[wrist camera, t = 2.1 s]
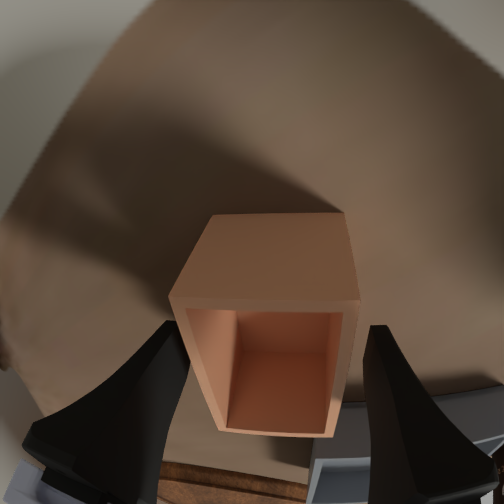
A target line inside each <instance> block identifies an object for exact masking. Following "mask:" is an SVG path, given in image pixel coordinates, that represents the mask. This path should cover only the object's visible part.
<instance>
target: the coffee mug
mask: <svg viewBox="0 0 504 504" xmlns="http://www.w3.org/2000/svg"><path fill="white" fill-rule="evenodd" d="M492 459H493V460H494V461H495V464H496V467H497V471H498V477H499V485H498V486H497V487H496V488H495V489H494V490H493V504H504V444H503V445H502V446H500V447H499V448H498V449H497V450H496V451H495V452H494V453H493V454H492Z"/></svg>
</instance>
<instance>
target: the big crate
mask: <svg viewBox="0 0 504 504" xmlns="http://www.w3.org/2000/svg"><path fill="white" fill-rule="evenodd" d="M431 398H432V399H433V400H434V402H435V403H436V404H437V405H438V407H439V408H440V409H441V410H442V411H443V413H444V414H445V415H446V416H447V417H448V419H449V420H450V421H451V422H452V423H453V424H454V425H455V426H456V427H457V428H458V429H459V430H460V431H461V432H462V433H463V434H464V435H465V436H466V437H467V438H468V439H469V440H470V441H471V442H472V443H474V444H475V445H476V446H477V447H478V448H479V449H480V450H482V451H483V452H484V453H486V454H487V455H488V456H490V455H491V454H493V453H494V452H495V451H496V450H497V449H498V448H499V447H500V446H502V445H503V444H504V385H500V386H495V387H490V388H485V389H480V390H474V391H468V392H462V393H455V394H448V395H441V396H433V397H431ZM370 458H371V441H370V429H369V421H368V413H367V405H366V402H348V403H341V407H340V411H339V415H338V419H337V423H336V427H335V431H334V435H333V437H314V440H313V447H312V453H311V460H310V466H309V475H308V486H307V496H306V504H356V503H368V495H369V483H370Z"/></svg>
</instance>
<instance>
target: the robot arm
mask: <svg viewBox="0 0 504 504" xmlns="http://www.w3.org/2000/svg"><path fill="white" fill-rule="evenodd" d="M190 362H191V361H190V358H189V355H188V353H187V350H186V347H185V344H184V342H183V339H182V336H181V333H180V330H179V327H178V325H177V322H176V321H169V320H166V321H165V322H164V323H163V324H162V325H161V326H160V327H159V328H158V330H157V331H156V332H155V333H154V334H153V335H152V336H151V337H150V338H149V339H148V340H147V341H146V342H145V343H144V344H143V345H142V347H141V348H140V349H139V350H138V351H137V352H136V353H135V354H134V355H133V356H132V357H131V358H130V359H129V360H128V361H127V362H126V363H125V364H123V365H122V366H121V367H120V368H119V369H118V370H117V371H116V372H115V373H114V374H113V375H111V376H110V377H109V378H108V379H107V380H106V381H104V382H103V383H102V384H100V385H99V386H98V387H97V388H95V389H94V390H92V391H91V392H89V393H88V394H86V395H85V396H83V397H82V398H80V399H79V400H77V401H76V402H74V403H73V404H71V405H69V406H67V407H66V408H64V409H62V410H60V411H58V412H56V413H54V414H52V415H50V416H47V417H45V418H43V419H40V420H38V421H35V422H33V424H32V426H31V428H30V430H29V431H28V433H27V435H26V438H25V439H24V441H23V443H22V447H23V449H24V450H25V451H26V452H28V453H29V454H30V455H31V456H33V457H34V458H35V459H37V460H38V461H39V462H41V463H42V464H44V465H45V466H46V468H45V471H43V470H41V469H40V468H38V467H36V466H34V465H33V464H31V463H29V462H27V461H26V460H24V459H20V461H19V463H18V466H17V468H16V470H15V472H14V474H13V477H12V479H11V481H10V483H9V486H8V488H7V490H6V493H5V495H4V497H3V501H4V502H6V503H7V504H156V503H157V492H158V483H159V476H160V469H161V463H162V458H163V453H164V448H165V443H166V439H167V434H168V430H169V427H170V424H171V420H172V418H173V415H174V412H175V409H176V407H177V404H178V401H179V398H180V396H181V393H182V390H183V387H184V385H185V382H186V379H187V375H188V371H189V367H190ZM363 380H364V391H365V398H366V405H367V413H368V421H369V429H370V441H371V458H370V483H369V495H368V504H481V499H480V498H481V497H482V496H484V495H486V494H487V493H489V492H490V491H492V490H494V489H495V488H496V487H497V486H498V485H499V477H498V471H497V467H496V464H495V461H494V460H493V459H492V458H491V457H489V456H488V455H487V454H486V453H484V452H483V451H482V450H480V449H479V448H478V447H477V446H476V445H475V444H474V443H472V442H471V441H470V440H469V439H468V438H467V437H466V436H465V435H464V434H463V433H462V432H461V431H460V430H459V429H458V428H457V427H456V426H455V425H454V424H453V423H452V422H451V421H450V420H449V419H448V417H447V416H446V415H445V414H444V413H443V411H442V410H441V409H440V408H439V407H438V405H437V404H436V403H435V402H434V400H433V399H432V398H431V396H430V395H429V394H428V392H427V391H426V390H425V388H424V387H423V385H422V384H421V382H420V381H419V379H418V378H417V376H416V375H415V373H414V372H413V370H412V368H411V367H410V365H409V363H408V362H407V360H406V359H405V357H404V355H403V353H402V352H401V350H400V348H399V346H398V345H397V343H396V341H395V339H394V337H393V335H392V333H391V331H390V329H389V327H388V326H387V325H370V330H369V334H368V339H367V344H366V348H365V353H364V357H363Z"/></svg>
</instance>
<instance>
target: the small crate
mask: <svg viewBox="0 0 504 504" xmlns="http://www.w3.org/2000/svg"><path fill="white" fill-rule="evenodd" d="M168 298H169V301H170V304H171V307H172V310H173V313H174V316H175V319H176V322H177V325H178V327H179V330H180V333H181V336H182V339H183V342H184V344H185V347H186V350H187V353H188V355H189V358H190V361H191V363H192V366H193V368H194V371H195V374H196V376H197V379H198V381H199V384H200V386H201V389H202V391H203V394H204V396H205V399H206V401H207V404H208V406H209V409H210V411H211V413H212V416H213V418H214V420H215V423H216V425H217V427H218V430H219V431H227V432H235V433H245V434H256V435H269V436H286V437H333V435H334V431H335V427H336V423H337V419H338V415H339V411H340V407H341V402H342V398H343V394H344V389H345V385H346V380H347V375H348V370H349V365H350V360H351V355H352V350H353V344H354V338H355V333H356V327H357V321H358V314H359V308H360V301H361V300H360V294H359V288H358V282H357V276H356V270H355V265H354V259H353V254H352V249H351V244H350V239H349V234H348V229H347V224H346V220H345V215H344V213H265V214H225V215H212V217H211V219H210V220H209V222H208V224H207V226H206V227H205V229H204V231H203V233H202V235H201V236H200V238H199V240H198V242H197V244H196V245H195V247H194V249H193V251H192V253H191V254H190V256H189V258H188V260H187V262H186V264H185V265H184V267H183V269H182V271H181V273H180V275H179V277H178V278H177V280H176V282H175V284H174V286H173V288H172V290H171V292H170V293H169V295H168Z"/></svg>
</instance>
